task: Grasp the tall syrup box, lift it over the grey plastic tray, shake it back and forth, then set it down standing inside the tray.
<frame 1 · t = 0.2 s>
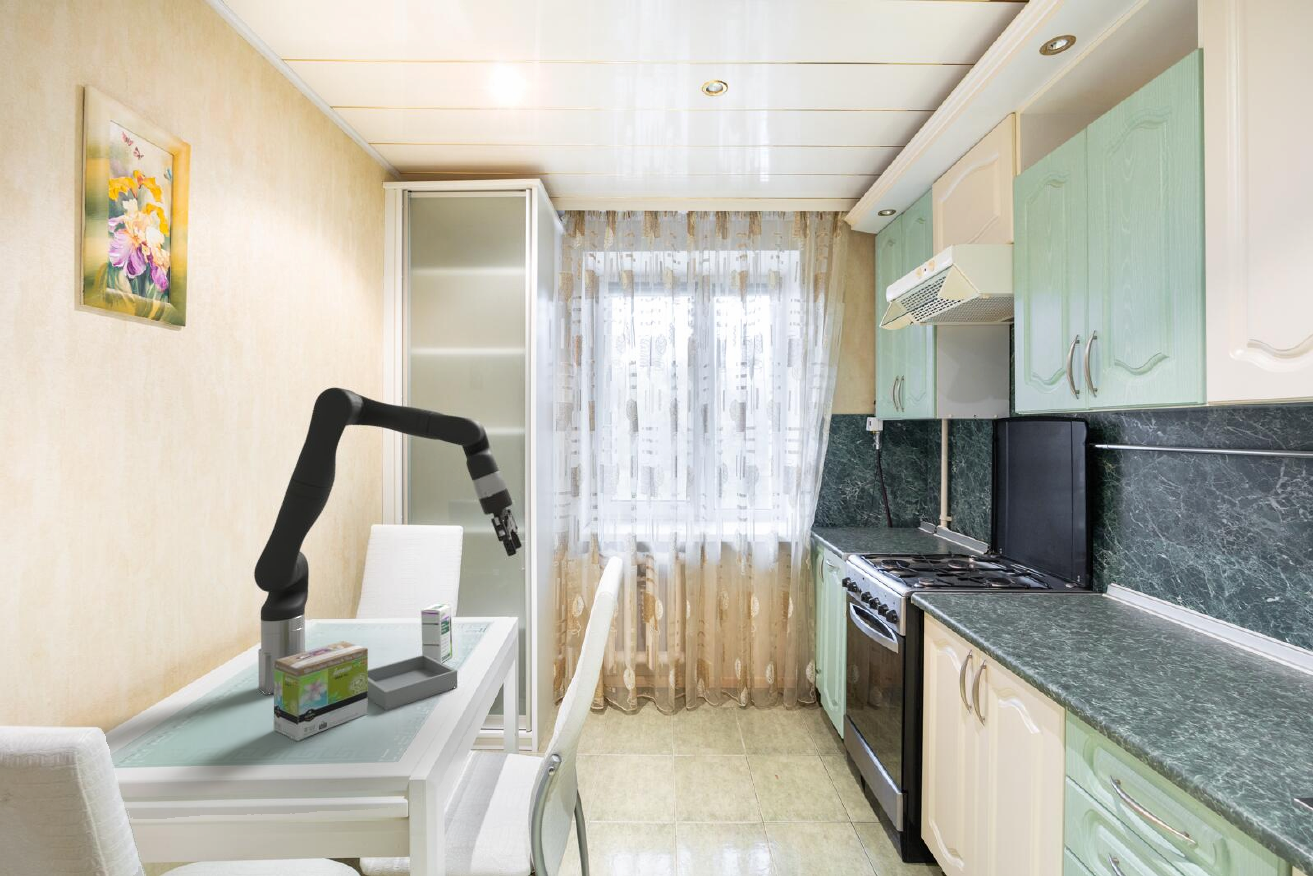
hand: (515, 551, 155), 31 cm above the table, tool tilted 20°, fingers open, 8 cm apart
syrup box: (437, 661, 166), on the table
tea box: (322, 723, 129), on the table
tray: (407, 688, 146), on the table
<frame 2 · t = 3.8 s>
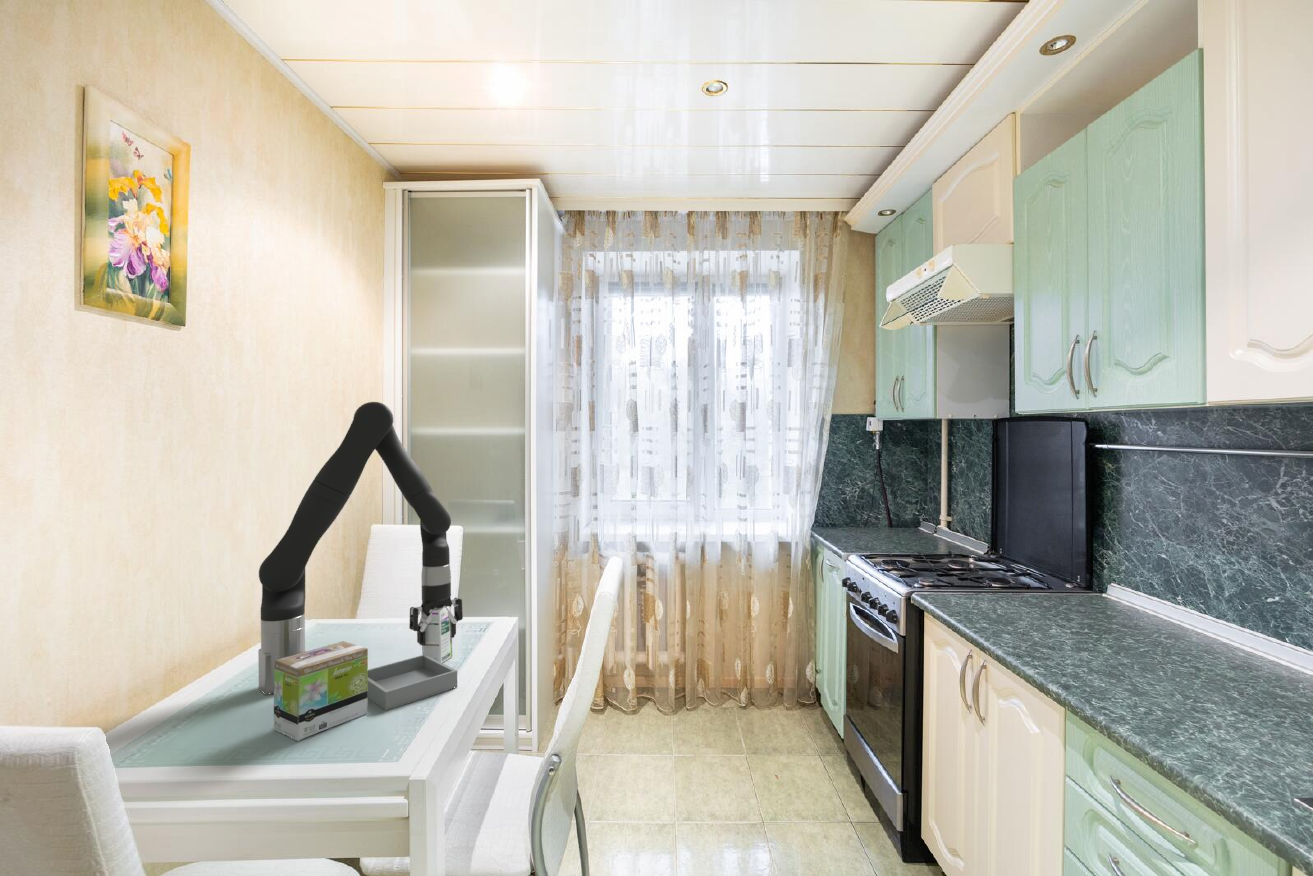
hand: (436, 641, 166), 5 cm above the table, tool pointing down, fingers closed on syrup box, 8 cm apart
syrup box: (437, 661, 166), on the table, touching gripper
everything else where it was.
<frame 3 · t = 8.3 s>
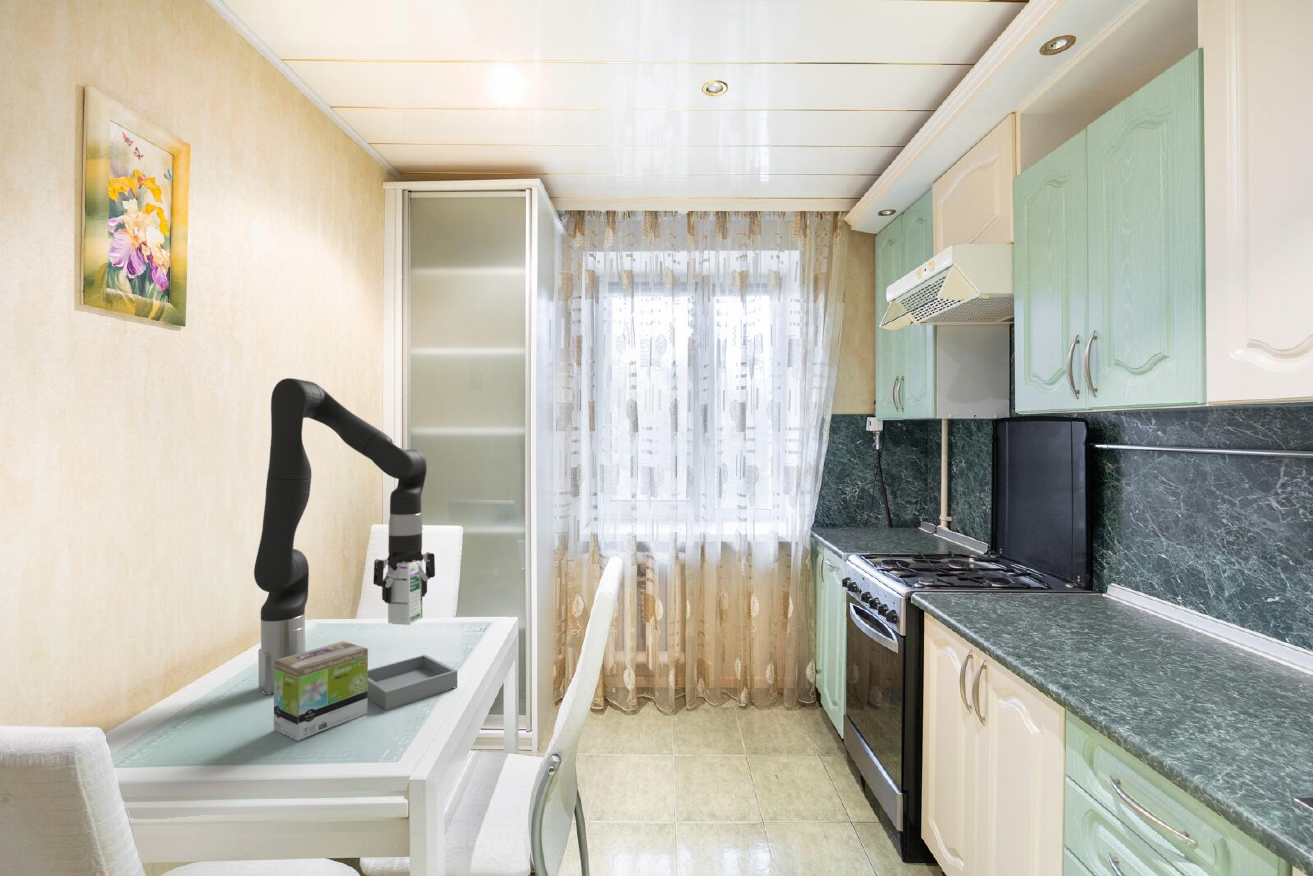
hand: (404, 599, 147), 21 cm above the table, tool pointing down, fingers closed on syrup box, 8 cm apart
syrup box: (405, 621, 147), point 16 cm above the table, touching gripper
everything else where it was.
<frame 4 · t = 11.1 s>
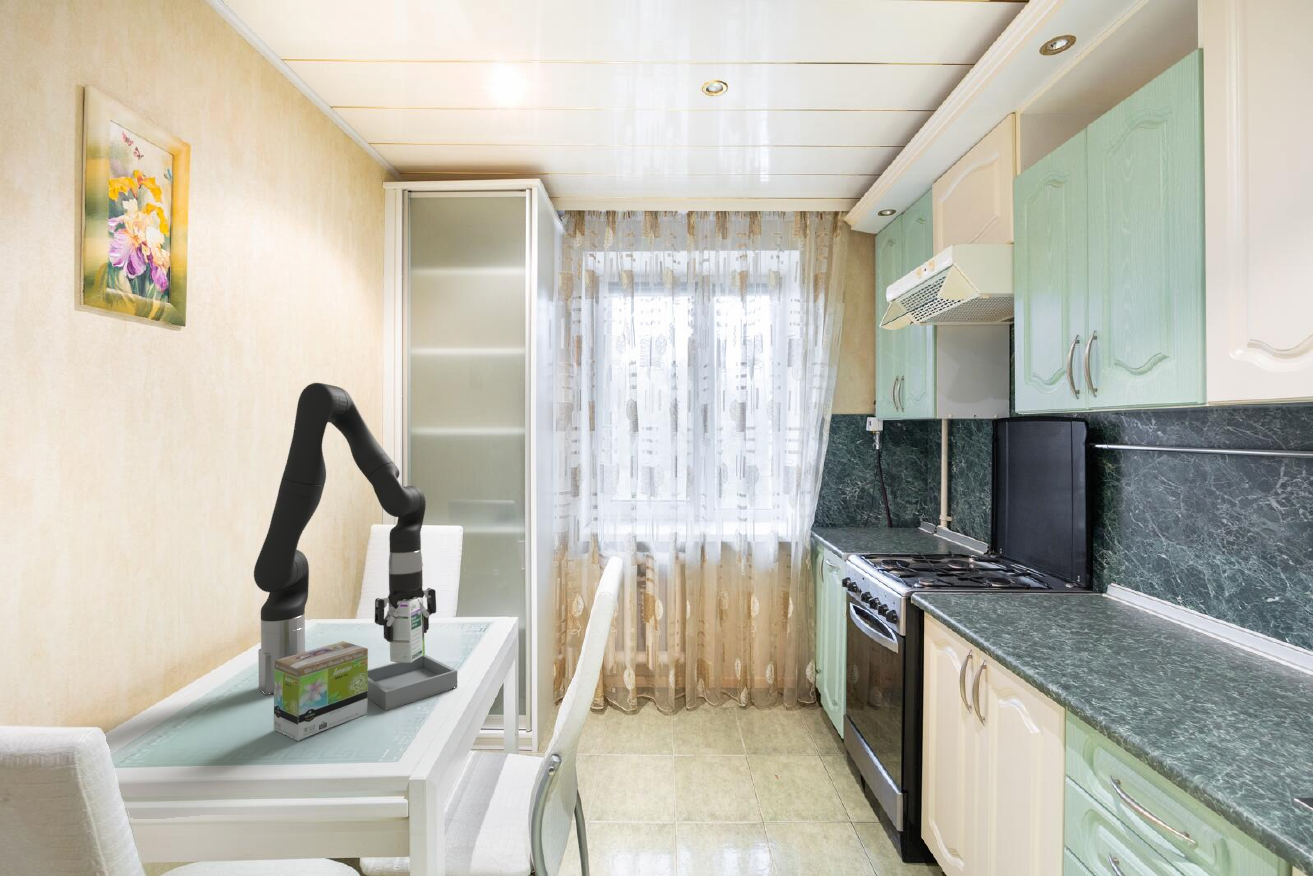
hand: (406, 636, 147), 12 cm above the table, tool pointing down, fingers closed on syrup box, 8 cm apart
syrup box: (407, 659, 146), point 7 cm above the table, touching gripper
everything else where it was.
when the fingers open (7 cm above the table, at t = 12.9 s): syrup box stays where it is, resting on tray.
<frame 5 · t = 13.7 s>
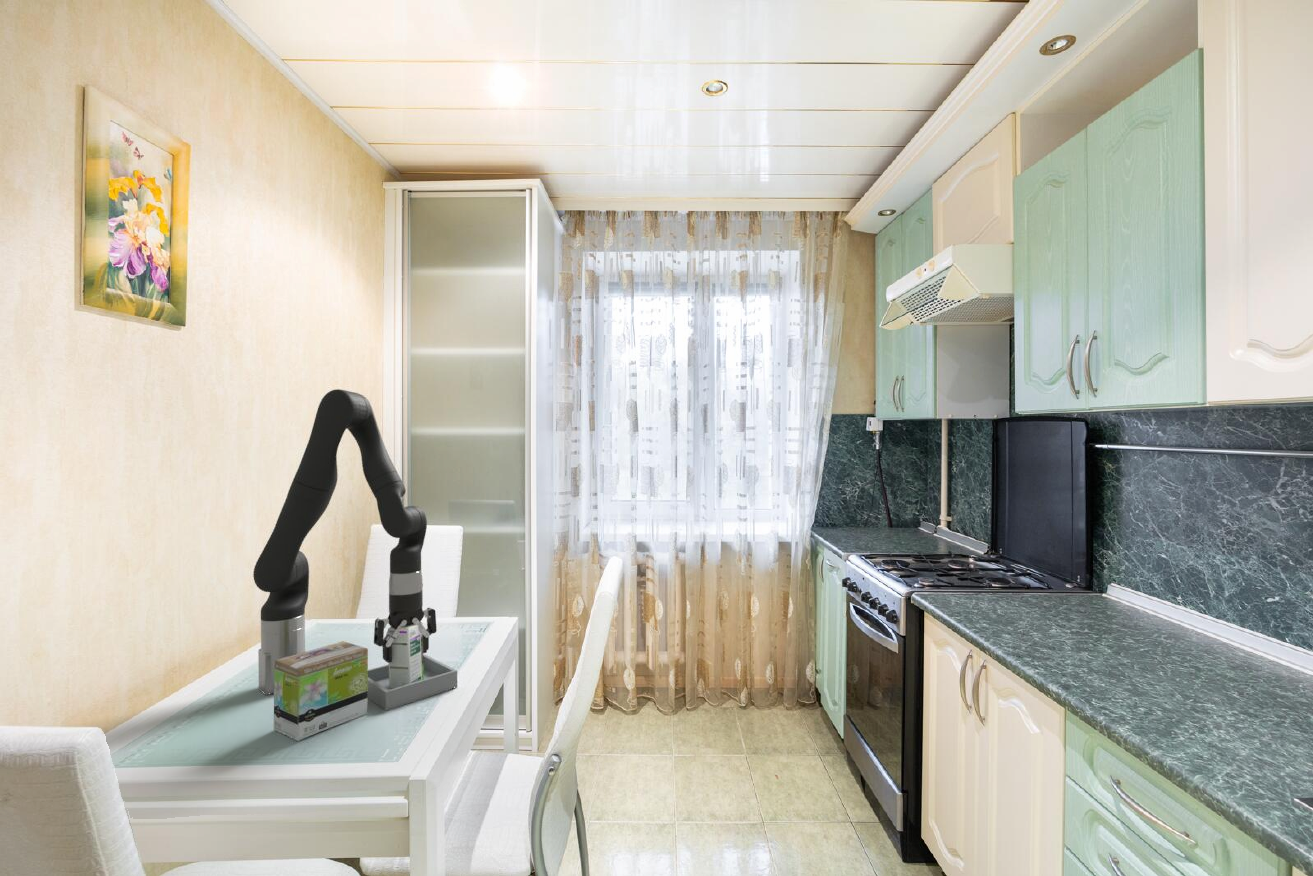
hand: (406, 657, 146), 8 cm above the table, tool pointing down, fingers open, 8 cm apart
syrup box: (406, 685, 146), point 1 cm above the table, touching gripper, tray
everything else where it was.
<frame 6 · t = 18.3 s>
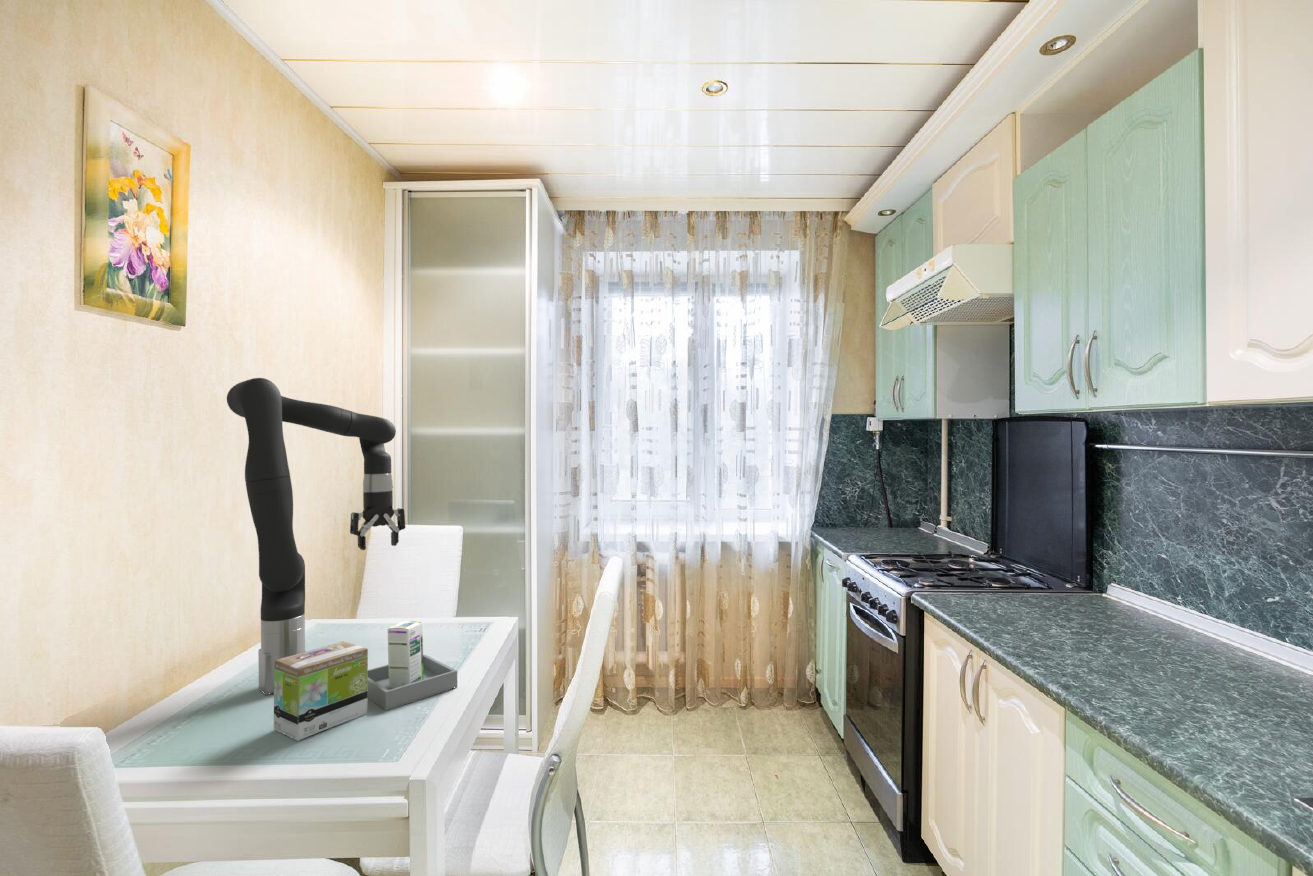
hand: (378, 547, 170), 30 cm above the table, tool pointing down, fingers open, 8 cm apart
syrup box: (406, 685, 146), point 1 cm above the table, touching tray
everything else where it was.
at the end: syrup box inside the target area on the tray (0.2 cm from its centre), point 0.8 cm above the tray's base; syrup box tilted 0°; the gripper is holding nothing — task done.
